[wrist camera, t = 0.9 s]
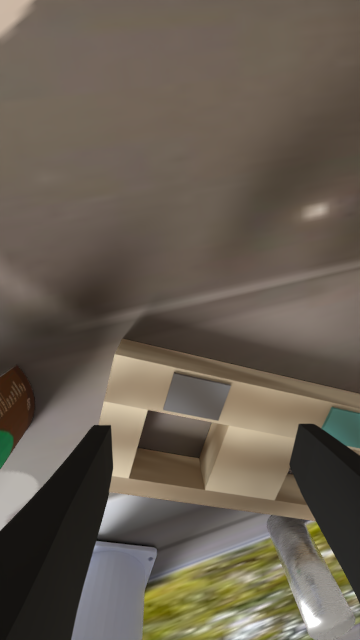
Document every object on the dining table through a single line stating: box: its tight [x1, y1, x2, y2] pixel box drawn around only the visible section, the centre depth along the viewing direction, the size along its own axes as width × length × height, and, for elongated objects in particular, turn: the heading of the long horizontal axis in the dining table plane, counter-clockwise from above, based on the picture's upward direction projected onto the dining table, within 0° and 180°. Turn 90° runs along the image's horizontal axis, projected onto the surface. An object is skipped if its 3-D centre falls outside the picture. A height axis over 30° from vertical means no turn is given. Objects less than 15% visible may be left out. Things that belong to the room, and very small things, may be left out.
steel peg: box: [267, 515, 355, 640], centre depth 21 cm, size 4×4×7 cm
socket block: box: [99, 339, 360, 521], centre depth 19 cm, size 11×24×3 cm, turn 74°
